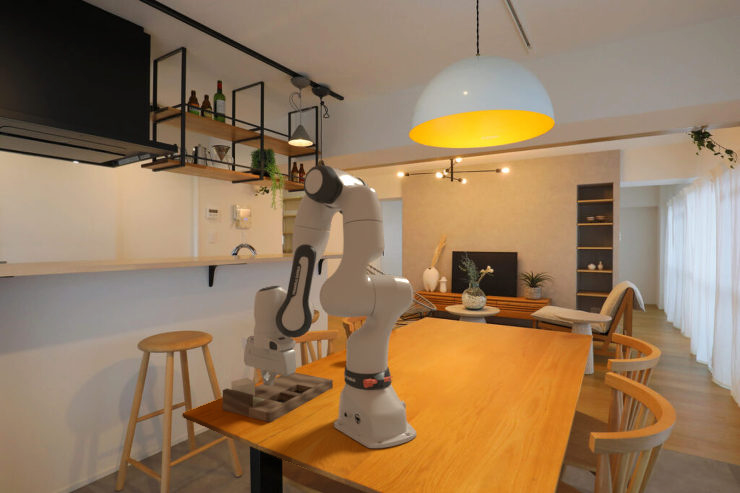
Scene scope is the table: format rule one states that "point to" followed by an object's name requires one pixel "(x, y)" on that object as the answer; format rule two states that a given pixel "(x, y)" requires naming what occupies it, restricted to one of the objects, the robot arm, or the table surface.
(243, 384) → the block
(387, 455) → the table surface
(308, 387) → the wooden compartment tray
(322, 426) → the table surface
